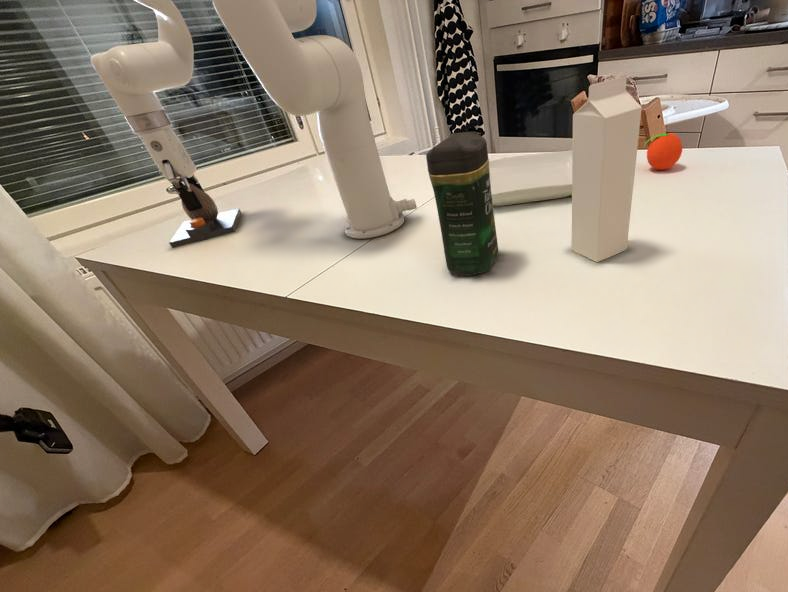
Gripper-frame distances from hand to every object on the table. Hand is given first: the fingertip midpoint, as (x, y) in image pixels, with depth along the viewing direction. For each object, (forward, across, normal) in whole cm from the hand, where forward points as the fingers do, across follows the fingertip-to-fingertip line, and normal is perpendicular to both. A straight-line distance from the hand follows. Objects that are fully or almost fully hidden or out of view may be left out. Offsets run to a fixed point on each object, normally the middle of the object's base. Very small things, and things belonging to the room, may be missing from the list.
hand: (198, 204), depth 97 cm
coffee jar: (+6, -61, -50) cm, 79 cm away
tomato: (+6, -44, -100) cm, 109 cm away
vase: (+4, 0, 0) cm, 4 cm away
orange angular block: (+3, -8, 0) cm, 8 cm away
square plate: (+6, -33, -73) cm, 80 cm away
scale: (+6, -2, 0) cm, 6 cm away
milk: (+6, -69, -68) cm, 97 cm away
